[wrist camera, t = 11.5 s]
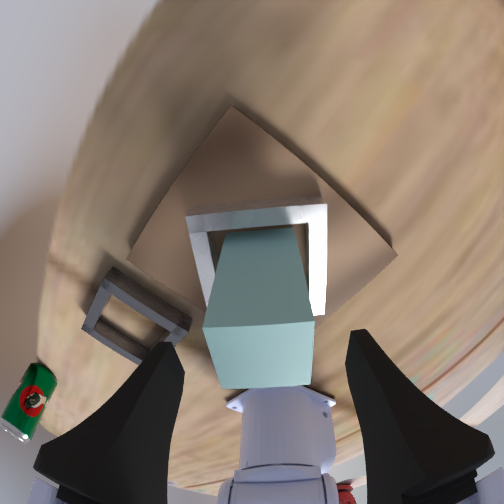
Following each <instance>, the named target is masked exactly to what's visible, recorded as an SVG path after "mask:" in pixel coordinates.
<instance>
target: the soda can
mask: <svg viewBox="0 0 504 504" xmlns="http://www.w3.org/2000/svg"><path fill="white" fill-rule="evenodd" d="M56 386H57V381H56V378H55V376H54V375H53V374H52V373H51V372H50V371H49V370H48V369H47V368H46V367H44V366H43V365H41V364H39V363H31V364H30V365H29V367H28V369H27V370H26V372H25V373H24V375H23V377H22V378H21V380H20V382H19V384H18V385H17V387H16V389H15V391H14V393H13V394H12V396H11V398H10V400H9V402H8V404H7V405H6V408H5V410H4V411H3V413H2V415H1V424H0V425H1V426H2V428H3V429H5V430H6V431H7V432H8V433H9V434H10V435H12V436H13V437H15V438H16V439H17V440H19V441H20V442H22V443H24V444H27V442H28V441H30V440H31V439H32V437H33V434H34V432H35V430H36V428H37V426H38V423H39V421H40V419H41V417H42V415H43V413H44V410H45V408H46V406H47V404H48V402H49V400H50V398H51V396H52V394H53V392H54V390H55V388H56Z"/></svg>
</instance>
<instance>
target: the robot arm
mask: <svg viewBox="0 0 504 504" xmlns="http://www.w3.org/2000/svg"><path fill="white" fill-rule="evenodd" d="M345 366H346V372H347V378H348V384H349V388H350V391H351V395H352V399H353V402H354V406H355V409H356V413H357V416H358V420H359V424H360V428H361V432H362V437H363V444H364V452H365V461H366V473H367V504H504V470H503V468H502V467H500V468H499V469H497V470H496V471H494V472H492V473H491V474H489V475H488V476H486V477H485V478H483V479H481V480H479V481H477V482H476V483H475V479H474V478H475V477H477V471H476V469H477V468H478V467H480V466H481V465H483V464H484V463H485V462H487V461H488V460H489V459H491V458H492V457H493V456H494V454H495V452H494V449H493V446H492V443H491V440H490V438H489V436H488V435H487V434H485V433H483V432H481V431H479V430H476V429H474V428H472V427H470V426H468V425H467V424H465V423H463V422H462V421H460V420H458V419H457V418H455V417H453V416H452V415H451V414H449V413H447V412H446V411H445V410H444V409H442V408H441V407H439V406H438V405H437V404H435V403H434V402H433V401H432V400H431V399H429V398H428V397H427V396H426V395H425V394H424V393H422V392H421V391H420V390H419V389H418V388H417V387H416V386H415V385H414V384H413V383H412V382H411V381H410V380H409V379H408V378H407V377H406V376H405V375H404V374H403V373H402V372H401V371H400V370H399V368H398V367H397V366H396V365H395V364H394V363H393V362H392V361H391V359H390V358H389V357H388V356H387V355H386V353H385V352H384V351H383V350H382V349H381V347H380V346H379V345H378V344H377V342H376V341H375V340H374V339H373V337H372V336H371V335H370V333H369V332H368V331H367V330H366V329H361V330H353V331H351V333H350V339H349V345H348V350H347V356H346V361H345ZM184 375H185V371H184V369H183V367H182V364H181V362H180V360H179V358H178V355H177V353H176V351H175V348H174V346H173V344H172V342H164V341H158V343H157V344H156V345H155V346H154V347H153V349H152V350H151V351H150V352H149V354H148V355H147V356H146V357H145V359H144V360H143V361H142V362H141V364H140V365H139V366H138V367H137V368H136V370H135V371H134V372H133V373H132V374H131V376H130V377H129V378H128V379H127V380H126V382H125V383H124V384H123V385H122V386H121V387H120V388H119V389H118V390H117V391H116V393H115V394H114V395H113V396H112V397H111V398H110V399H109V400H108V401H107V402H106V403H105V404H103V405H102V406H101V407H100V408H99V409H98V410H97V411H96V412H94V413H93V414H92V415H91V416H89V417H88V418H87V419H85V420H84V421H83V422H81V423H80V424H79V425H77V426H76V427H74V428H73V429H71V430H70V431H68V432H66V433H65V434H63V435H61V436H59V437H57V438H56V439H53V440H51V441H50V442H47V443H45V444H43V445H41V448H40V450H39V453H38V455H37V458H36V461H35V463H34V466H33V468H34V469H35V470H36V471H38V472H39V473H40V474H42V475H44V476H45V477H47V478H49V479H50V480H52V481H54V482H55V483H57V484H59V485H60V486H59V489H57V488H55V487H54V486H52V485H50V484H48V483H46V482H44V481H43V480H41V479H39V478H37V477H36V478H35V480H34V483H33V486H32V489H31V492H30V495H29V499H28V502H27V504H167V476H168V461H169V451H170V443H171V438H172V433H173V429H174V425H175V421H176V417H177V413H178V409H179V405H180V401H181V397H182V392H183V384H184ZM335 404H336V401H335V400H334V399H332V398H329V397H327V396H325V395H322V394H320V393H318V392H315V391H313V390H311V389H308V388H306V387H304V386H301V385H298V386H286V387H270V388H250V389H248V390H247V391H245V392H243V393H242V394H240V395H238V396H237V397H235V398H233V399H232V400H230V401H228V402H227V403H226V406H227V407H228V408H230V409H233V410H235V411H238V412H241V413H242V427H241V443H240V460H239V470H235V471H234V478H228V479H227V480H226V481H225V482H224V483H222V485H221V486H220V489H219V493H218V498H217V504H339V497H338V490H337V485H336V482H335V479H334V478H333V477H331V476H330V475H329V474H328V473H326V472H327V471H328V470H329V469H330V468H331V466H332V465H333V463H334V460H335V457H336V442H335V435H334V429H333V422H332V416H331V409H330V407H331V406H333V405H335Z"/></svg>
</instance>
